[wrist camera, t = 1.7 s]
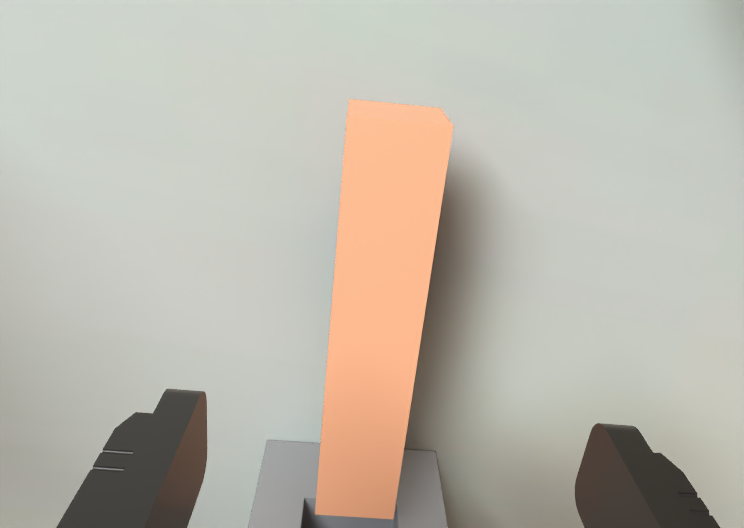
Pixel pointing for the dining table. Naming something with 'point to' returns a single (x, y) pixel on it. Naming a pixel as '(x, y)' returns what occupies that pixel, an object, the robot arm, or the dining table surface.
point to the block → (299, 488)
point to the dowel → (379, 300)
